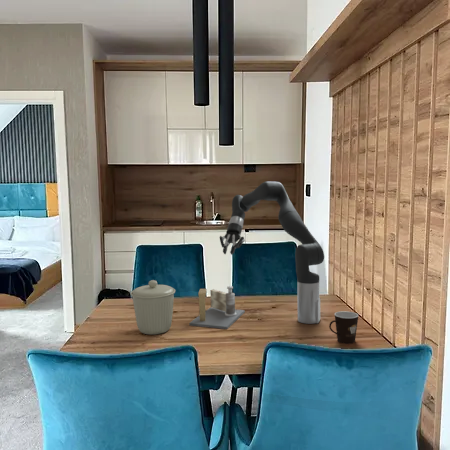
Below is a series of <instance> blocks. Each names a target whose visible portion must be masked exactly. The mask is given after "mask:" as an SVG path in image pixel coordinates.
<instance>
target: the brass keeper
mask: <svg viewBox="0 0 450 450" xmlns="http://www.w3.org/2000/svg"><path fill="white" fill-rule="evenodd" d="M207 291H208V290H207V288H199V291H198V306H199V307H198V309H199V315H200V321H205V320H206V310H207V309H206V296H207Z"/></svg>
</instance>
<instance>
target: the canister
mask: <svg viewBox="0 0 450 450" xmlns="http://www.w3.org/2000/svg"><path fill="white" fill-rule="evenodd" d="M175 293H176V289H175V288H174V287H172V286H170V285H167V284H158V282H157V280H156V279H155V280H154V279H152V280H149V281H148V284H146V285H142V286H139V287H136V288H134V289H133V290H132V291H131V292H130V296H131V297H132V303H133V309H134V315H135V321H136V326H137V329H138V331H139V332H140V333H142V334H144V335H160V334H163V333H166V332H168V331H169V330H170V329H171V326H172V322H173V313H174V300H175V298H174V296H175V295H174V294H175Z"/></svg>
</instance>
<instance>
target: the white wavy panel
mask: <svg viewBox="0 0 450 450" xmlns="http://www.w3.org/2000/svg"><path fill="white" fill-rule="evenodd" d="M209 293H210V307H212V308H216V309H219V310H222V311H225V312H226V313H227V314H234V313H235V309H236V296H235V295H236V294H235V293H234V292H232V293H231V294H229V293H228V292H225V291H221V290H217V289H214V288H213V289H210V291H209Z"/></svg>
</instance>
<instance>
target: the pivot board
mask: <svg viewBox="0 0 450 450" xmlns="http://www.w3.org/2000/svg"><path fill="white" fill-rule="evenodd" d="M226 289H228V290H227V293H229V294H231V293H233V289H234V286H231V285H229V286H227V287H226ZM205 310H206V320H205V321H200V314H199V315H198V316H197V317H195V318H194V319H193V320H191V321H190V322H189V324H188V325H189V326H193V327H203V328H212V329H220V330H221V329H222V330H227V329H229V328H230V327H231V326H232V325H233V324H234V323H235V322H236V321H238V319H239V318H240V317H242V315H243V314H245V312H246V311H245V309H244V310H243V309H236V308H235V313H234V314H227V313H226V312H225V311H222V310H219V309H216V308H213V307H211V306H210V307H208V309H205Z"/></svg>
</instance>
